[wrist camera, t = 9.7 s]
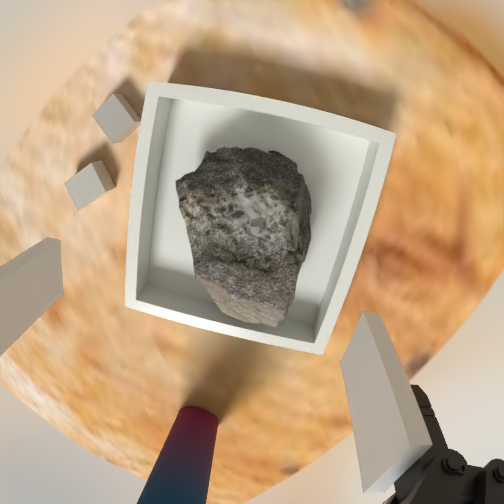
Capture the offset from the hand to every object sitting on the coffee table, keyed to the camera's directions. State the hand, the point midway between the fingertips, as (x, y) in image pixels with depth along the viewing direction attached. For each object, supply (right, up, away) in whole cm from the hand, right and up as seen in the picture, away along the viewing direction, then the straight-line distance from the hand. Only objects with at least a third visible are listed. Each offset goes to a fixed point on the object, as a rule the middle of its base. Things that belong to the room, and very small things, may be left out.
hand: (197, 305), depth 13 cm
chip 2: (-9, +13, +11) cm, 19 cm away
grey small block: (-12, +8, +13) cm, 20 cm away
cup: (-4, -18, +23) cm, 30 cm away
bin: (+2, +5, +13) cm, 14 cm away
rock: (+3, +4, +12) cm, 13 cm away
